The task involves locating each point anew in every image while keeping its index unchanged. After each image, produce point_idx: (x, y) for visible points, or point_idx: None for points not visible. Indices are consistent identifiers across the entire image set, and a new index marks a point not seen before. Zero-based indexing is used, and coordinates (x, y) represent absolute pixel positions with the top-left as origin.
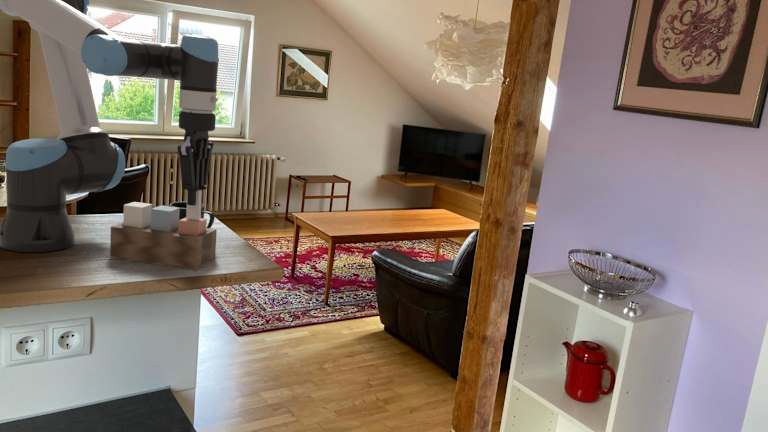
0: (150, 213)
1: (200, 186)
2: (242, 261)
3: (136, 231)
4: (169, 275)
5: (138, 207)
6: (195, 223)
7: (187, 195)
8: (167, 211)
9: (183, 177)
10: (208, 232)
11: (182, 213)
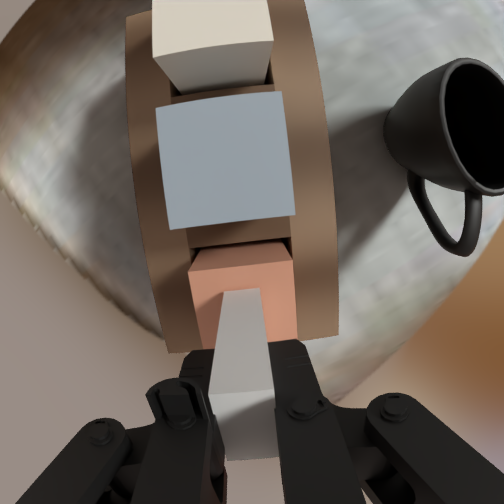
0: (250, 61)
1: (281, 471)
2: (325, 354)
3: (128, 107)
4: (116, 272)
5: (152, 39)
6: (203, 346)
7: (213, 366)
8: (168, 211)
9: (45, 497)
10: None
11: (430, 134)
